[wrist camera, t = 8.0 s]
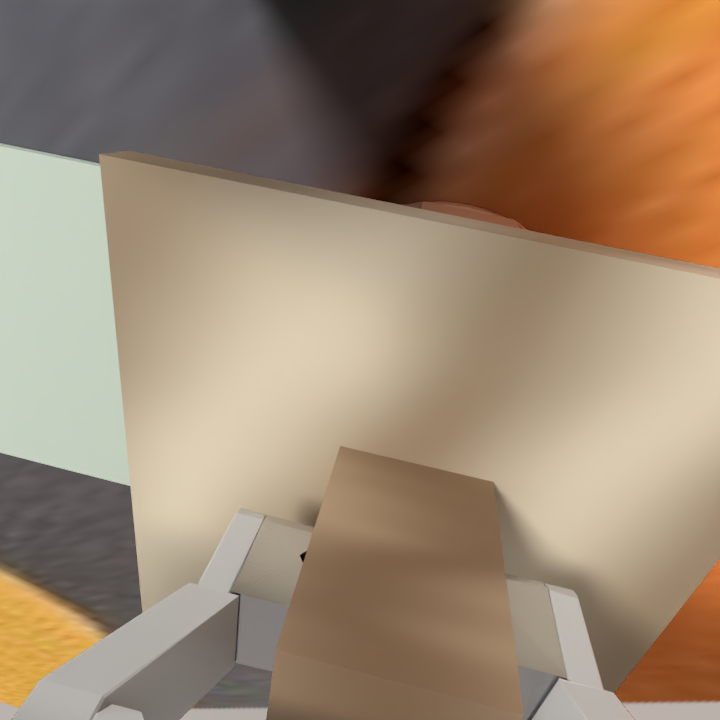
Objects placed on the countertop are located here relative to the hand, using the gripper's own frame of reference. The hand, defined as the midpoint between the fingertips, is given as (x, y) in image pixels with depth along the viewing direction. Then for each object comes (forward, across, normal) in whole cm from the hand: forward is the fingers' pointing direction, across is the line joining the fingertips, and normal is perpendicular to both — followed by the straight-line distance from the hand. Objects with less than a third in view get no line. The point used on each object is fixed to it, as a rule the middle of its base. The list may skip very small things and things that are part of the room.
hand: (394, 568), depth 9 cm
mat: (+9, +14, +3) cm, 17 cm away
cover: (+2, 0, 0) cm, 2 cm away
